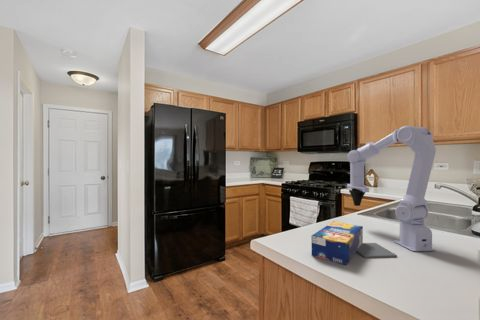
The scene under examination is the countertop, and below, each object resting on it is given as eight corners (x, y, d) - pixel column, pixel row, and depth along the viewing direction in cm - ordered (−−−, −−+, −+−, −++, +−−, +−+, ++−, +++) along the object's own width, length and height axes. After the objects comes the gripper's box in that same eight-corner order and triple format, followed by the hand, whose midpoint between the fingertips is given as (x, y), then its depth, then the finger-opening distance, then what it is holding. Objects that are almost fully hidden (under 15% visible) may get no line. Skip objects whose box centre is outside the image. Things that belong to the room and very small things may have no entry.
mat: (397, 257, 75) (397, 255, 75) (364, 258, 75) (364, 256, 75) (375, 244, 86) (375, 242, 86) (347, 245, 86) (347, 243, 86)
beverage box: (333, 221, 94) (311, 235, 77) (363, 226, 86) (346, 243, 70) (333, 237, 94) (311, 255, 77) (363, 244, 87) (346, 265, 70)
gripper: (375, 177, 99) (375, 208, 99) (356, 175, 114) (356, 202, 114) (359, 177, 99) (359, 209, 99) (342, 175, 113) (342, 202, 113)
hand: (357, 205), depth 106 cm, fingers closed
